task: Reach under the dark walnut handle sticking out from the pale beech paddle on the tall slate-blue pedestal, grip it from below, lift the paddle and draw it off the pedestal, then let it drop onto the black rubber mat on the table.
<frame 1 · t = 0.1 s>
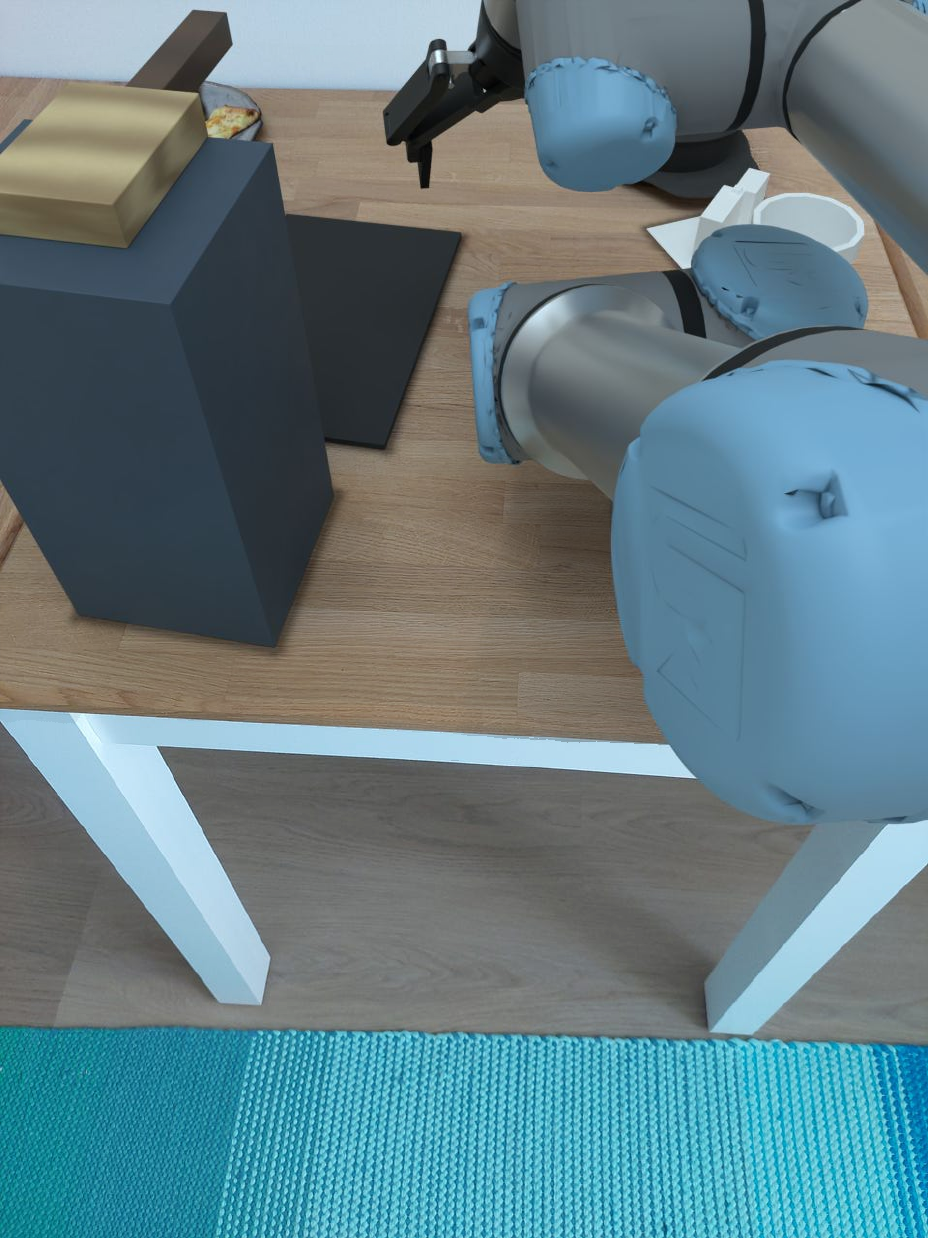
hand: (500, 166, 81), 15 cm above the table, tool tilted 35°, fingers open, 13 cm apart
mat: (330, 320, 94), on the table
pedestal: (212, 552, 76), on the table
foam cup: (768, 348, 91), on the table
casserole: (667, 160, 112), on the table
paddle: (56, 241, 49), point 30 cm above the table, touching pedestal
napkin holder: (730, 242, 101), on the table
food plate: (164, 143, 115), on the table
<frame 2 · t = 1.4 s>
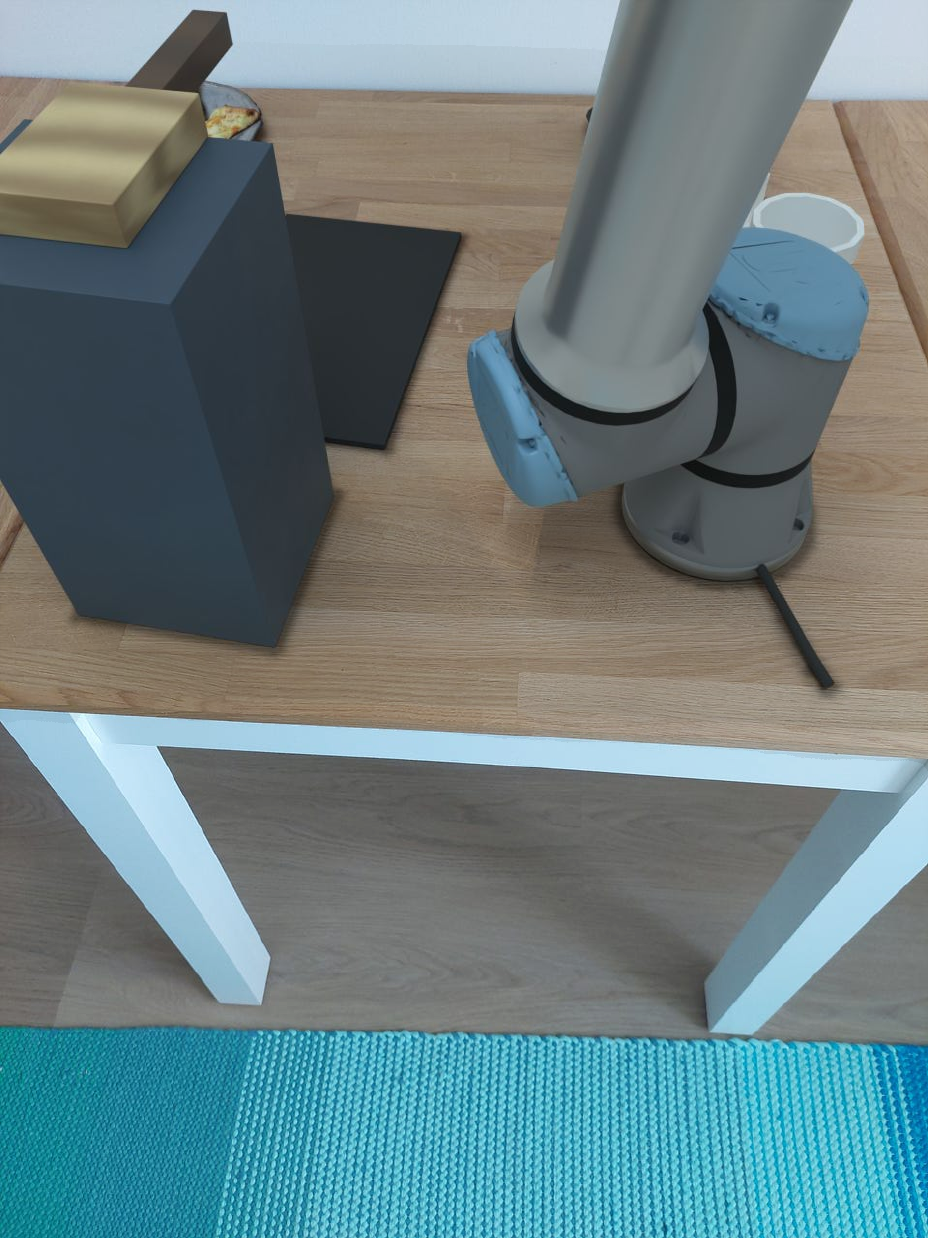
nothing on the table moved.
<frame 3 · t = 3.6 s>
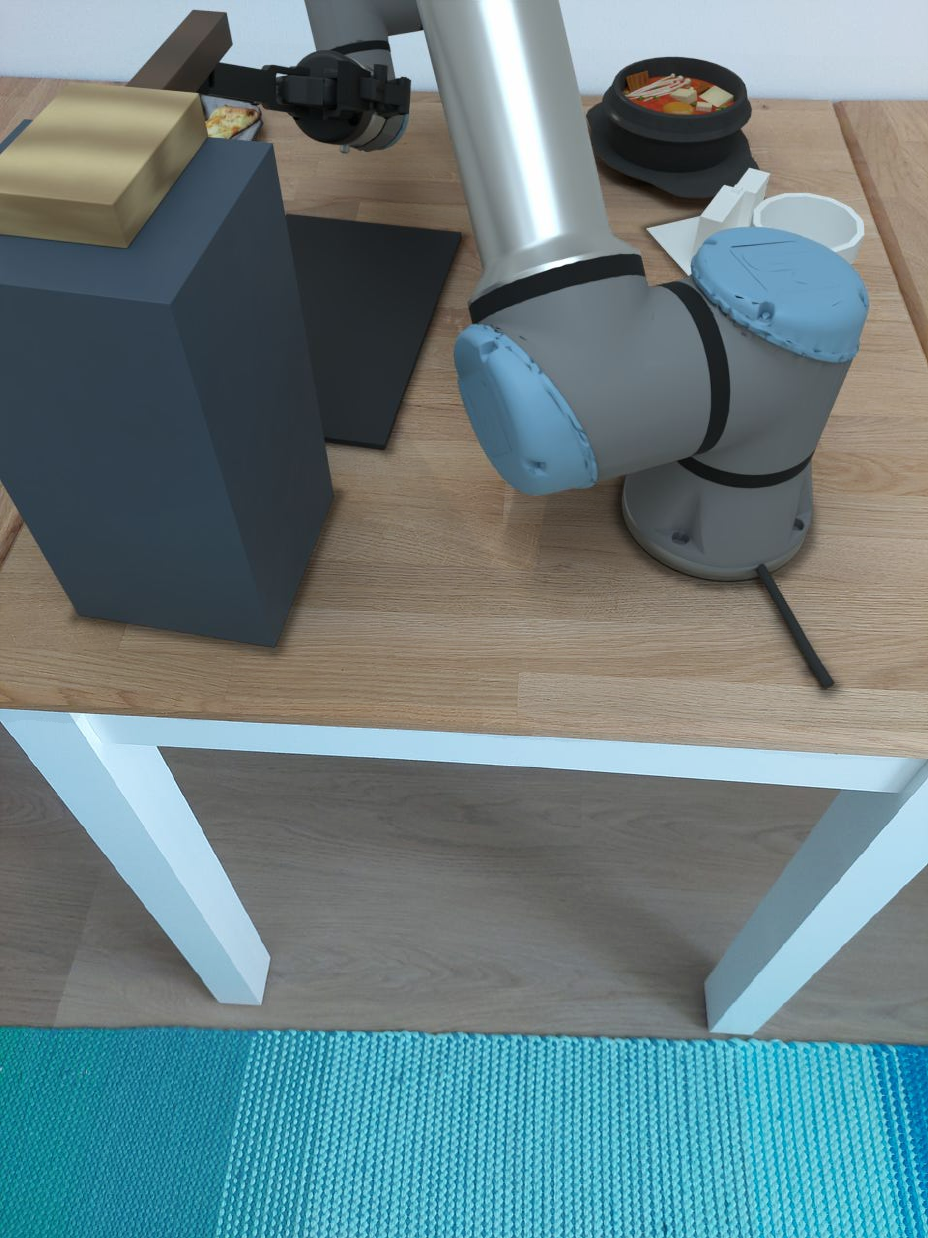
hand: (253, 73, 69), 26 cm above the table, tool pointing upward, fingers open, 13 cm apart
nothing on the table moved.
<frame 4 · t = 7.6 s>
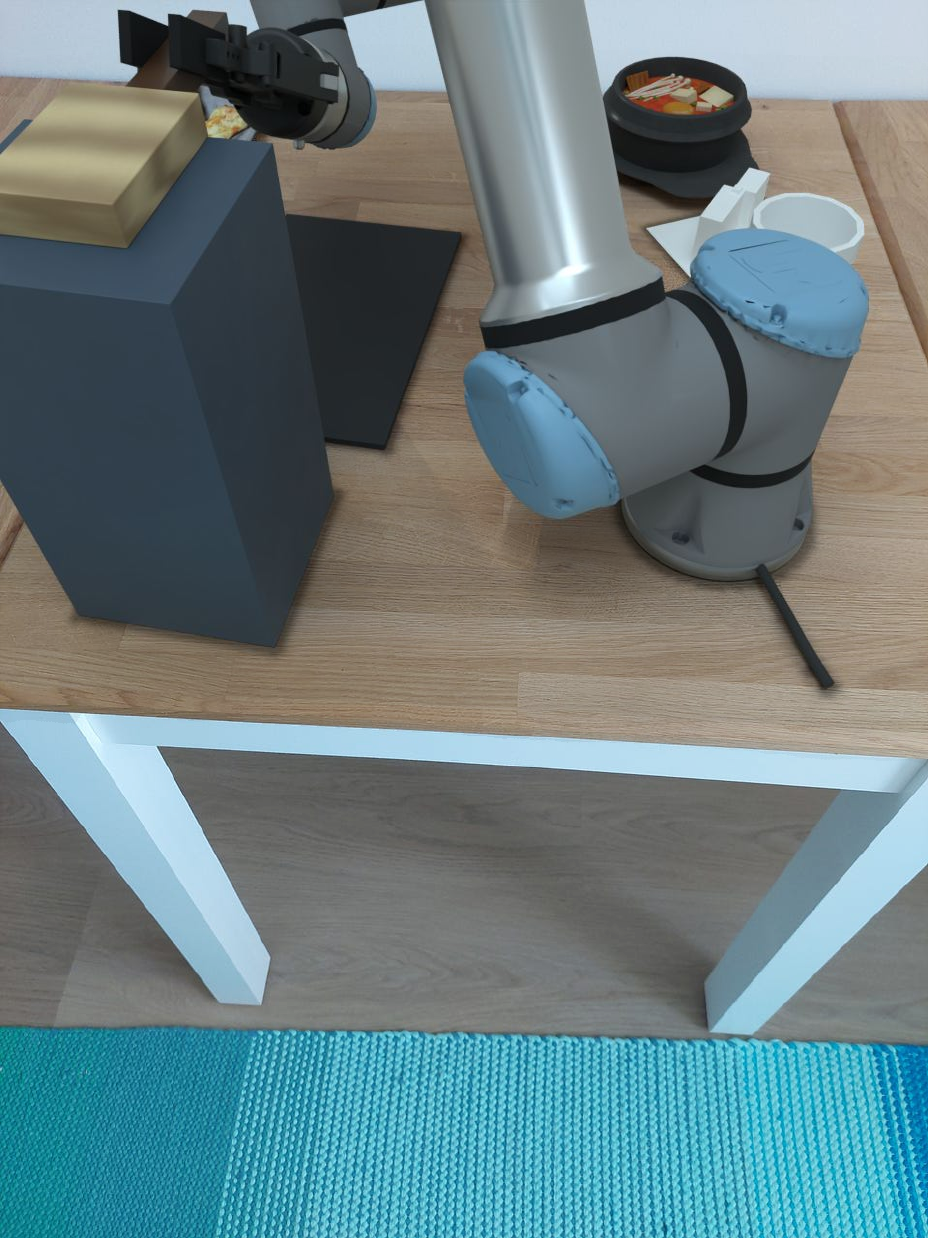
hand: (150, 38, 55), 34 cm above the table, tool pointing upward, fingers closed on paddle, 2 cm apart
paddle: (56, 241, 49), point 30 cm above the table, touching gripper, pedestal
everything else where it was.
when the fingers open (22 cm above the table, at t = 16.2 s): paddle drops 18 cm, resting on mat.
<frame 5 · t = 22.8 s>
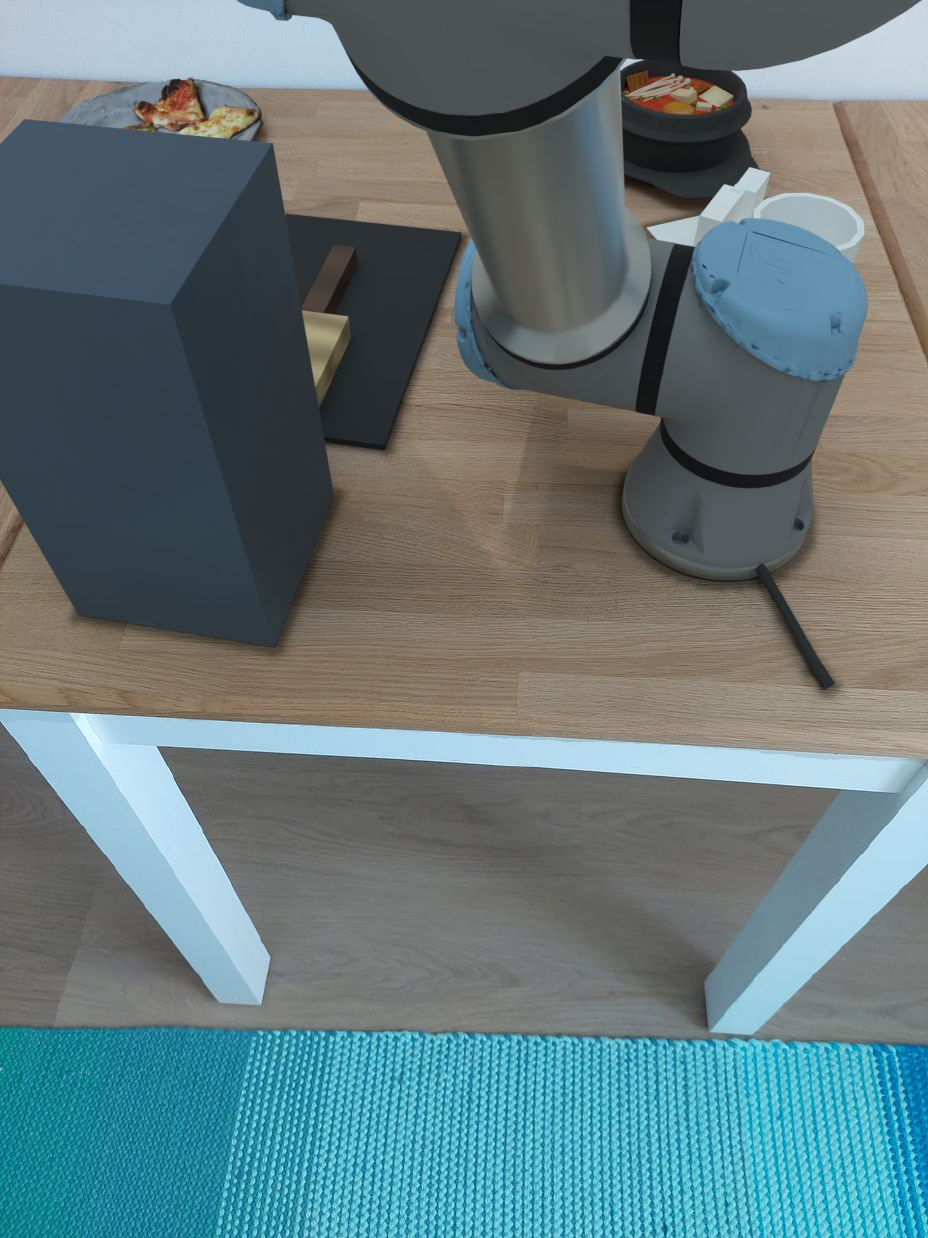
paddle: (272, 413, 85), point 1 cm above the table, touching mat
everything else where it was.
at the end: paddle point 0.6 cm above the table; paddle 15.0 cm from the mat (horizontally); the gripper is holding nothing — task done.
